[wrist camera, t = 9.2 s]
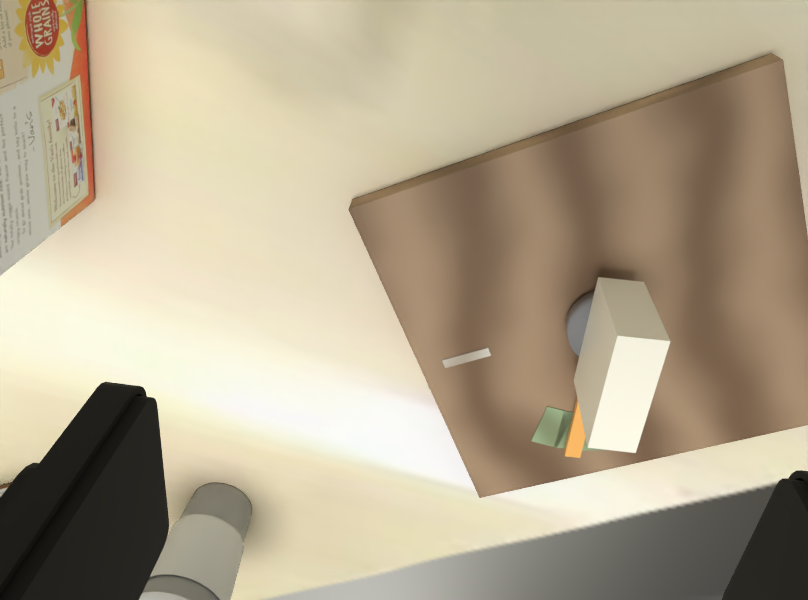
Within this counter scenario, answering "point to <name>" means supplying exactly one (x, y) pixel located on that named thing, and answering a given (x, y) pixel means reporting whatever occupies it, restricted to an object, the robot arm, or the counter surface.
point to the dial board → (608, 274)
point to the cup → (203, 547)
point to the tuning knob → (614, 365)
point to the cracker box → (42, 122)
